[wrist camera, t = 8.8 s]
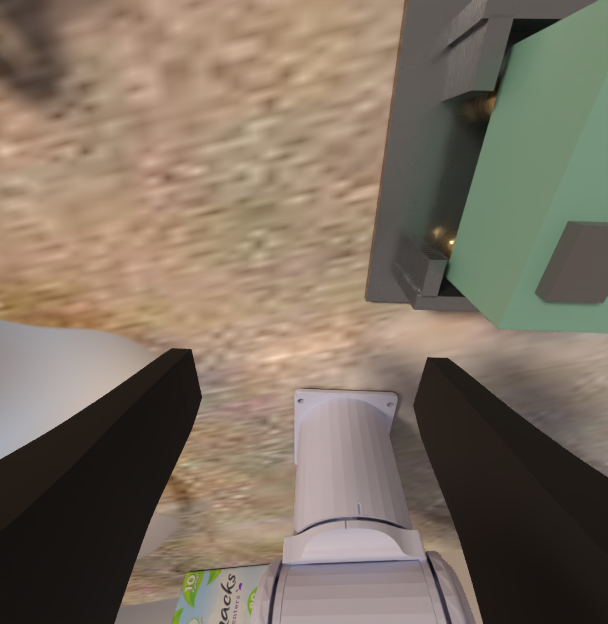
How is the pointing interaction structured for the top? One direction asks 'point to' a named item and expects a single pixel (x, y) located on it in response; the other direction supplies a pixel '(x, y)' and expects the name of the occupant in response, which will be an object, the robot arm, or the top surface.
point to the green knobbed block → (543, 186)
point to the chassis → (441, 137)
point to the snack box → (218, 596)
